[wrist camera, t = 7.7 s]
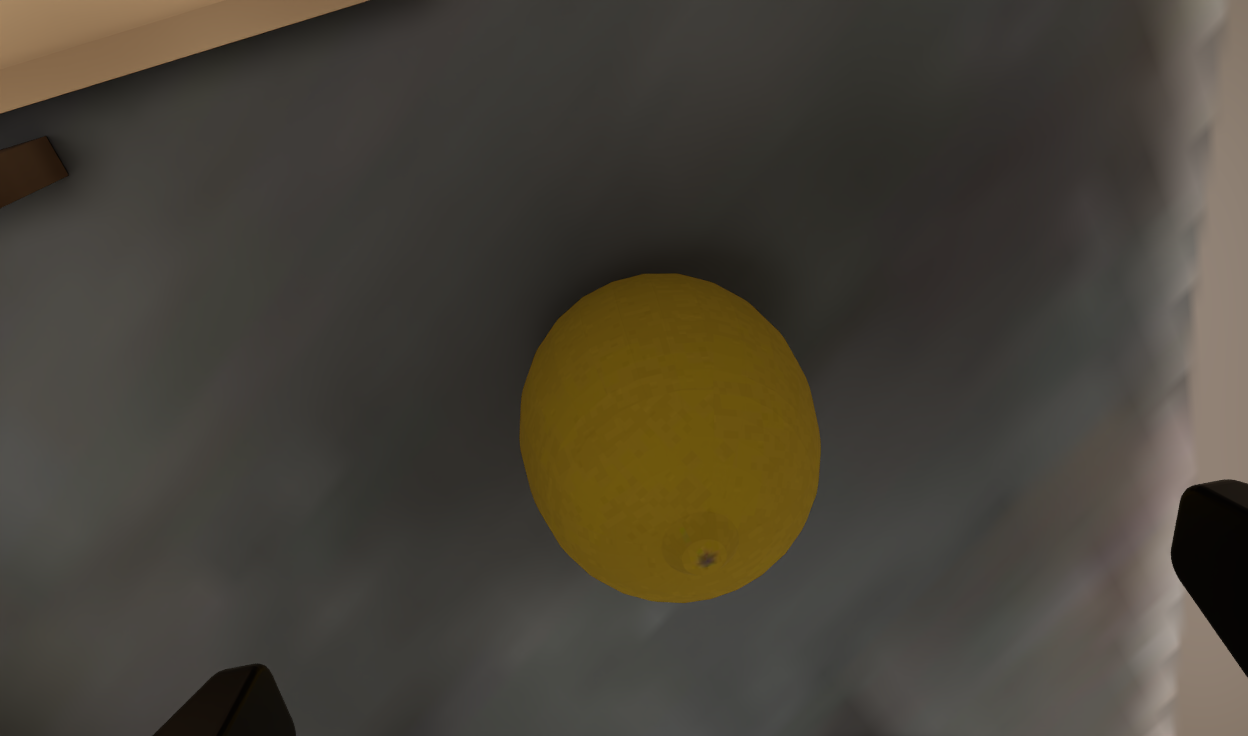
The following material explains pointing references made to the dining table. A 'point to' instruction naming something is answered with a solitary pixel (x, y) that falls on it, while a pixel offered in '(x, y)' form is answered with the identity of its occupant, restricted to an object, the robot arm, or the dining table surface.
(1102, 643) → the dining table surface
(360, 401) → the dining table surface
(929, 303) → the dining table surface
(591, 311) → the lemon
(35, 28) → the wooden drawer
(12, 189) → the open wooden box
